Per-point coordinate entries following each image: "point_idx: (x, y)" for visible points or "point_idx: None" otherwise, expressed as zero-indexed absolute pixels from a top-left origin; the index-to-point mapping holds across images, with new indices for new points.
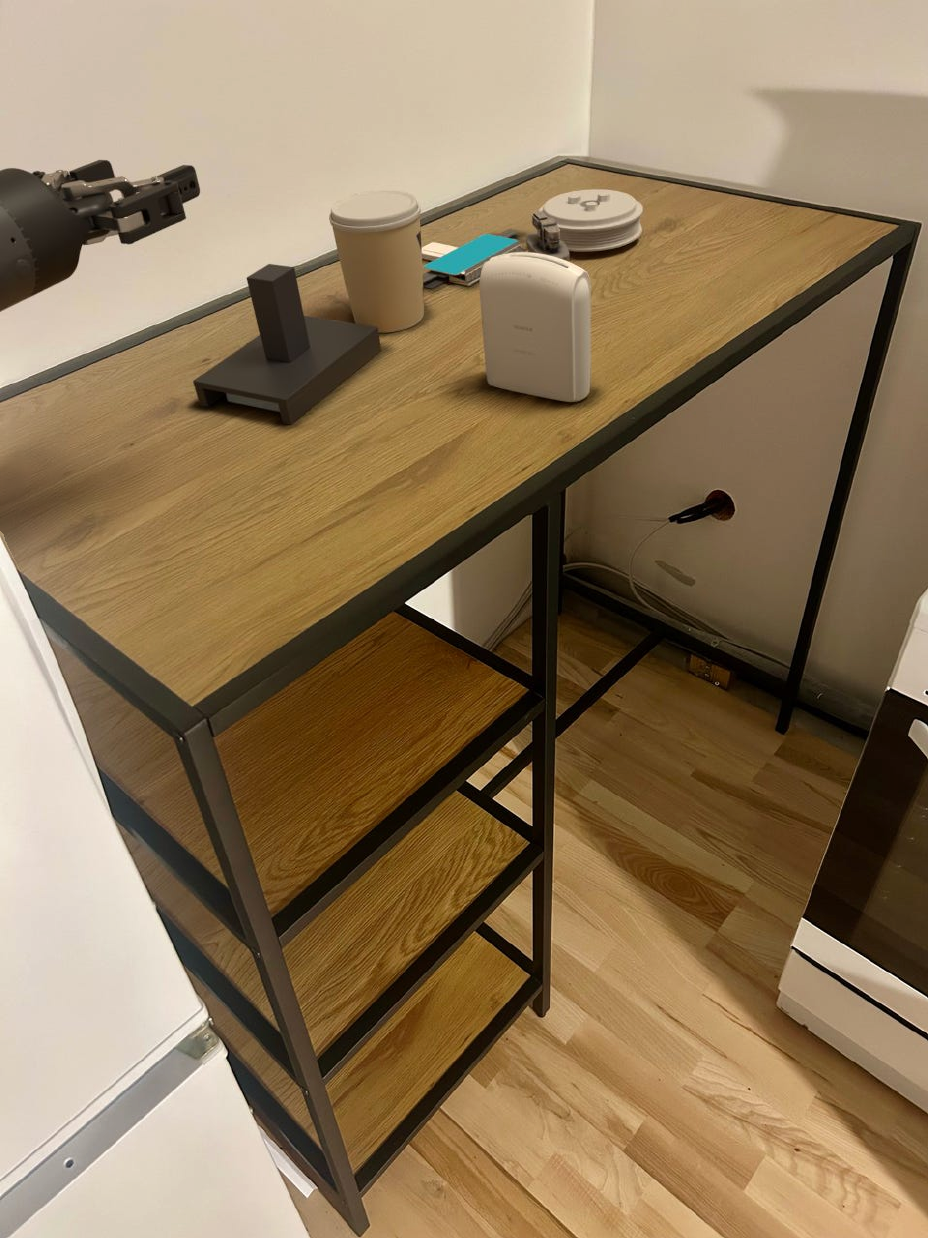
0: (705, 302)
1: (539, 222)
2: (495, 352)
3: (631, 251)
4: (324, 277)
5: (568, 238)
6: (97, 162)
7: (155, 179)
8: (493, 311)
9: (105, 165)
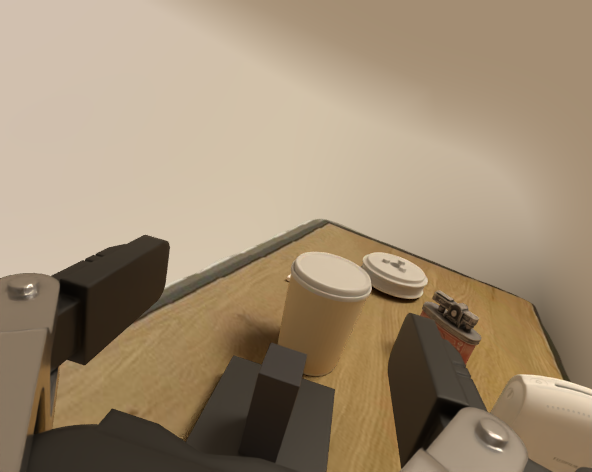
0: (513, 360)
1: (456, 306)
2: None
3: (421, 299)
4: (225, 290)
5: (393, 288)
6: (145, 247)
7: (507, 444)
8: (531, 438)
9: (159, 253)
